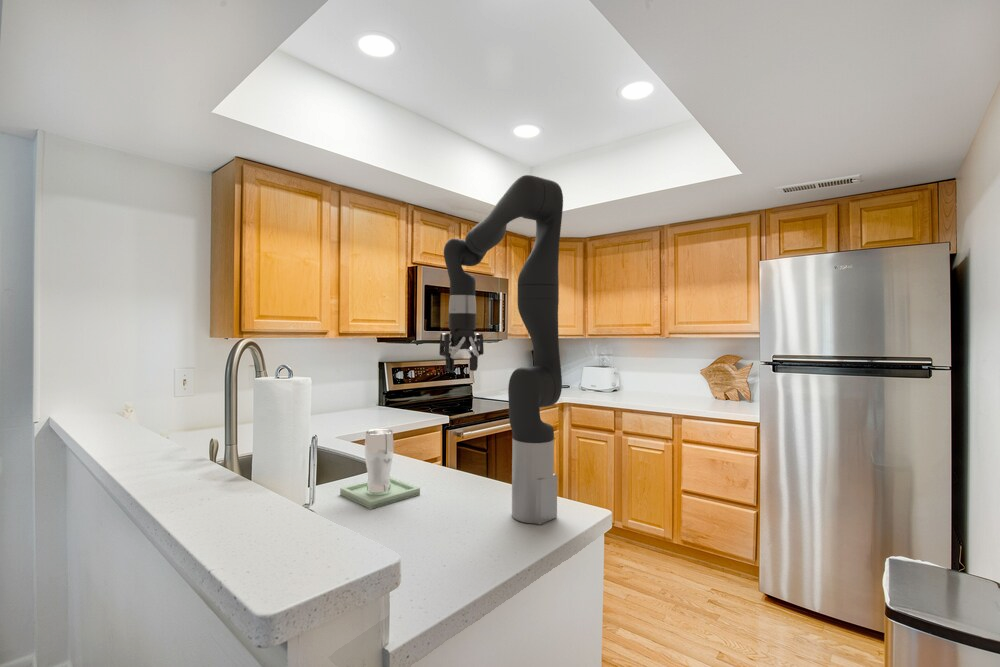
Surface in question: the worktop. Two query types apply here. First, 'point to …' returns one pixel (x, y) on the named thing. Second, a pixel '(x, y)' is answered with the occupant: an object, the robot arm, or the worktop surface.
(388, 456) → the beer glass
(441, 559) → the worktop surface
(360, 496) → the tray
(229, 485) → the worktop surface
